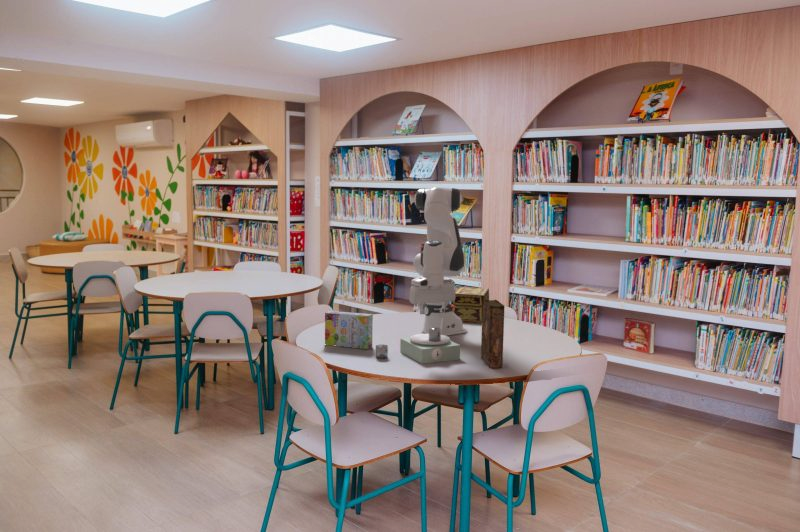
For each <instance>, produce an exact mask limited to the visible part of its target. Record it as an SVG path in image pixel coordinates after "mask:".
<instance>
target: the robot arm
mask: <svg viewBox="0 0 800 532" xmlns="http://www.w3.org/2000/svg"><path fill="white" fill-rule="evenodd" d="M462 197H463V196H462V193H461V191H460V190H459V189H458V188H453V187H452V188H449V187H431V188H429V187H428V188H424V187H423V188H420V189H417V191H416V192H415V195H414V199H413V200H414V204H415V208H416V209H417V210H418V211H422V212H424V213H423V216H424V220H425V223H426V240H427V241H425V242H424V245H423V250H422V251H420V253H417V254H416V255H415V257H414V259H413V268H414V271H415V272H417V274H418V275H419V276H417V277H416V278H413V279H411V282H410V283H411V286H410V288H409V295H408V296H409V297H408V300H409V303H410V304H413V305H417V307H418V309H419V315H424V320H423V321H424V322H423V327H422V329H421V332H422V334H429V328H431V327H438V328H441V335H445V336H453V335H459V334H464V333H468V329H467V328H466V327H464V326H463V324H464V323H463V322H462V320H461V318H459V317H458V316H457V315H456V314H454V313H453V312H452V311H451V309H455V305H451V301H454V300H455V290H456V289H455V288H456V283H455V281H454V280H453V279H452V278H450V277H457V276H458V277H459V275H460V274H461V273H462V271H463V269H464V267H465V263H466V256H465V253H464V250H463V245H462V241H461V235H460V230H459V226H458V222H457V220H456V218H455V217H453V216H452V214H453V213H454V212H455V211H458V210H459V209H460V207H461V205H462V202H463V198H462ZM450 212H451V213H452V214H450ZM445 277H449V278H450V279H445ZM423 306H424V309H423Z"/></svg>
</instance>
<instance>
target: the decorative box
mask: <svg viewBox="0 0 800 532" xmlns="http://www.w3.org/2000/svg"><path fill="white" fill-rule="evenodd" d="M483 300H490V288H488V287H468V286H467V287H466V286H459V287H458V288H456V289H455V300H454V301H451V302H450V305H455V309H451V311H452V312H453V313H454V314H456V315H457V316H458V317H459V318H461V320H462V323H471V324H473V323H474V324H482V307H483Z"/></svg>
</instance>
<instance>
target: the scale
mask: <svg viewBox="0 0 800 532" xmlns="http://www.w3.org/2000/svg"><path fill="white" fill-rule="evenodd" d="M399 340H400V344H399V345H400V349H399V352H400V353H401V354H403V355H405V356H406V357H409V358H410V359H412V360H413V361H416V362H417V363H419V364H431V363H440V362H447V361H457V360H461V344H459V343H457V342H454V341H452V340H451V338H450V337H449V335H447V336H445V335H441V341H439V342H432V341H429V334H426V333H416V334H413V335H411V336H410V337H402V338H401V337H400V339H399Z"/></svg>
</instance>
